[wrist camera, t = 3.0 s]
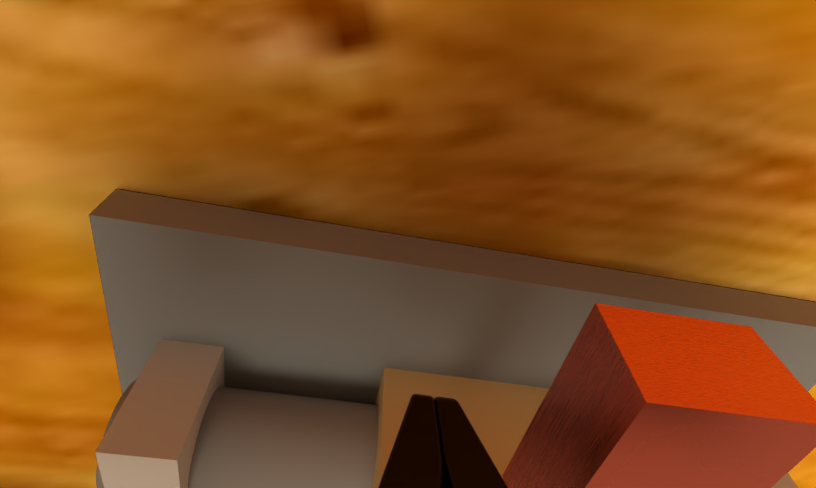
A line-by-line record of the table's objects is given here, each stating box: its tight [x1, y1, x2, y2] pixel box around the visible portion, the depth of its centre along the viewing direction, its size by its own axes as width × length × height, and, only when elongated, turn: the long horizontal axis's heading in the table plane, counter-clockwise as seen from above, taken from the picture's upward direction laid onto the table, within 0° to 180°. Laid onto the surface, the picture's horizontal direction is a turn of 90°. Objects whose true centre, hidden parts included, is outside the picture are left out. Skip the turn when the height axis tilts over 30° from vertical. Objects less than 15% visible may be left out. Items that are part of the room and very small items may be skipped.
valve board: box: [89, 189, 816, 488], centre depth 16 cm, size 14×24×8 cm, turn 79°
